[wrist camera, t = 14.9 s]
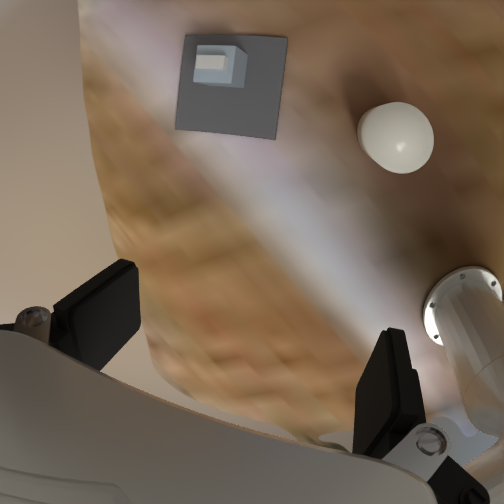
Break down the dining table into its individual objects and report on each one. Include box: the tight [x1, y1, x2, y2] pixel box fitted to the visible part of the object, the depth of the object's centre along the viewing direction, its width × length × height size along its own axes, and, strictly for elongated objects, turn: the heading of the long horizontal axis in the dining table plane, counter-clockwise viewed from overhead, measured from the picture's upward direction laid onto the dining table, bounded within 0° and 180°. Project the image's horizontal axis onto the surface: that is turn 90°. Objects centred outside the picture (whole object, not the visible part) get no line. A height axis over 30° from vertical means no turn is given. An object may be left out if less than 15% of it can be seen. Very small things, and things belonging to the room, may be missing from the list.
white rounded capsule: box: [357, 102, 434, 173], centre depth 28 cm, size 6×6×8 cm
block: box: [193, 45, 248, 88], centre depth 29 cm, size 4×4×6 cm
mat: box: [175, 35, 288, 140], centre depth 33 cm, size 12×12×1 cm
